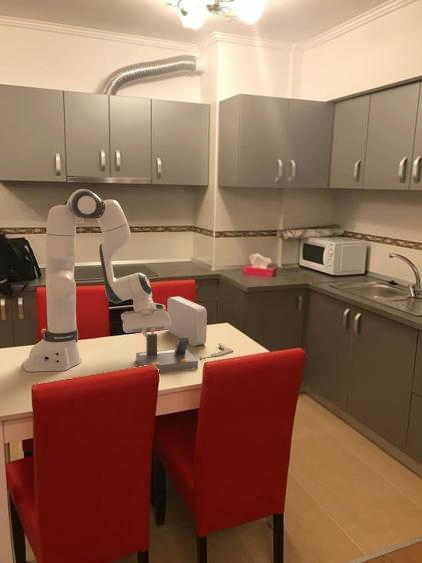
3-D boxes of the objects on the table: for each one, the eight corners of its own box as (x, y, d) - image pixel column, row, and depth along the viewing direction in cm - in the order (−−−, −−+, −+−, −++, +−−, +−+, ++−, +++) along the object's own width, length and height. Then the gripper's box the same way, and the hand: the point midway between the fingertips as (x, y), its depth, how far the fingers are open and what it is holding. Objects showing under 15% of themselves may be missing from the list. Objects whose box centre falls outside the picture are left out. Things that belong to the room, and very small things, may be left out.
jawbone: (236, 351, 212) (237, 347, 211) (217, 366, 194) (217, 362, 193) (219, 346, 215) (219, 342, 215) (198, 361, 197) (198, 356, 197)
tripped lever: (146, 358, 188) (146, 335, 186) (145, 356, 190) (145, 334, 188) (157, 357, 190) (157, 334, 188) (156, 355, 191) (156, 333, 189)
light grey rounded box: (210, 344, 216) (211, 307, 213) (196, 347, 212) (197, 309, 209) (180, 328, 240) (180, 294, 236) (167, 330, 235) (167, 296, 232)
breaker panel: (144, 374, 180) (144, 366, 180) (136, 359, 195) (136, 352, 194) (197, 368, 188) (197, 360, 187) (185, 354, 203) (186, 347, 202)
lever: (174, 355, 193) (178, 342, 186) (173, 352, 194) (177, 338, 187) (185, 354, 194) (189, 341, 188) (184, 351, 196) (188, 337, 189)
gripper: (121, 308, 192) (125, 338, 185) (168, 305, 199) (174, 333, 192) (119, 315, 197) (123, 344, 190) (165, 312, 204) (171, 340, 197)
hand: (149, 339), depth 191 cm, fingers closed
